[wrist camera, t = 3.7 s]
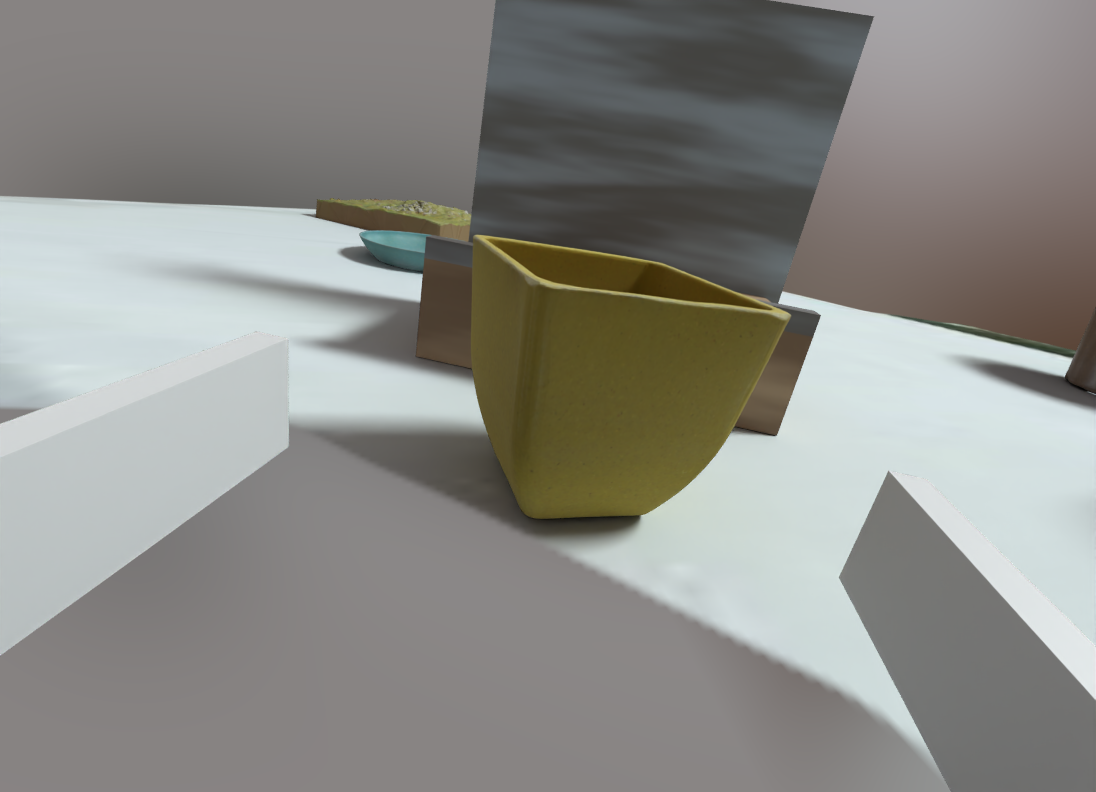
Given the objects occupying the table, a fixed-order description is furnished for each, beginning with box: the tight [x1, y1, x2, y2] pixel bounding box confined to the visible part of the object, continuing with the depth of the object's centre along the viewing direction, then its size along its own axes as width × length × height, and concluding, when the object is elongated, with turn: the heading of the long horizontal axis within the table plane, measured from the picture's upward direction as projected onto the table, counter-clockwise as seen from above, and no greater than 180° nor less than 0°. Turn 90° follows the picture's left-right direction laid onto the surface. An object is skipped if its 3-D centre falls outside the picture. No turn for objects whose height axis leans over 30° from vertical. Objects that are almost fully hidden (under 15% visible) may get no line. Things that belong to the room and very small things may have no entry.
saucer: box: [359, 230, 457, 272], centre depth 62 cm, size 15×15×3 cm
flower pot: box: [471, 235, 791, 519], centre depth 21 cm, size 9×9×9 cm
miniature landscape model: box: [316, 198, 471, 242], centre depth 88 cm, size 22×24×5 cm
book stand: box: [416, 0, 873, 436], centre depth 35 cm, size 14×24×24 cm, turn 81°
